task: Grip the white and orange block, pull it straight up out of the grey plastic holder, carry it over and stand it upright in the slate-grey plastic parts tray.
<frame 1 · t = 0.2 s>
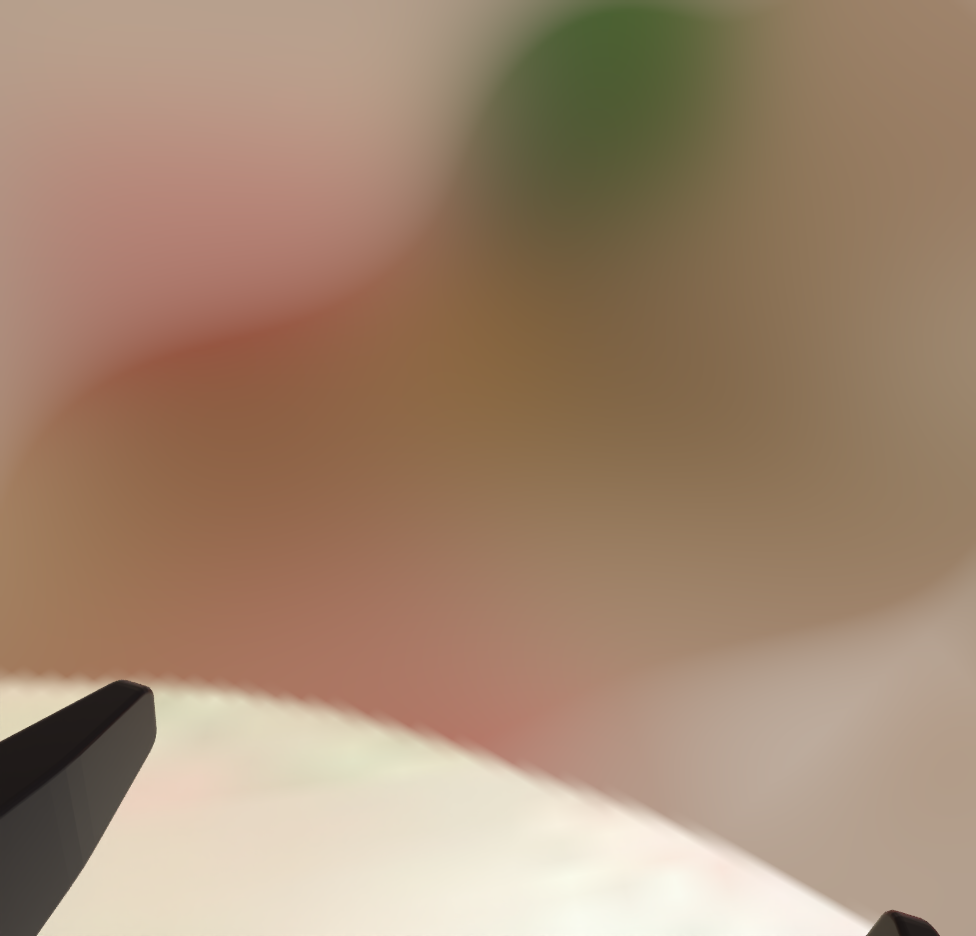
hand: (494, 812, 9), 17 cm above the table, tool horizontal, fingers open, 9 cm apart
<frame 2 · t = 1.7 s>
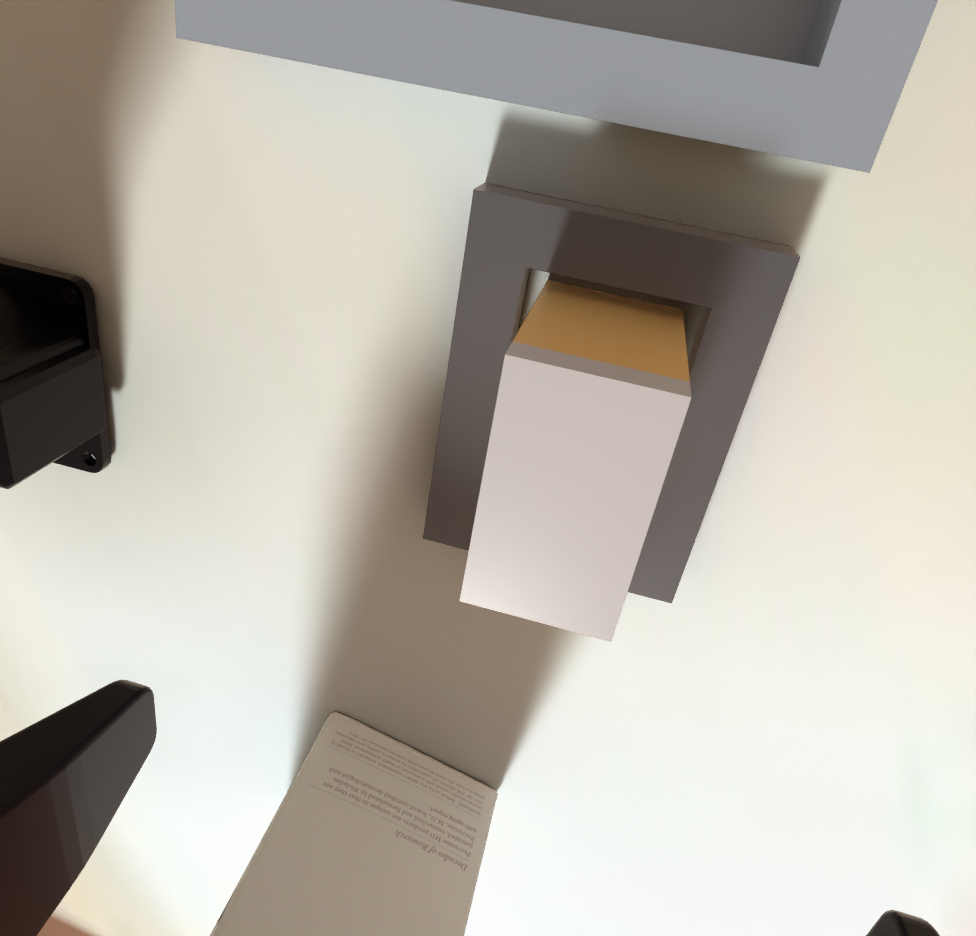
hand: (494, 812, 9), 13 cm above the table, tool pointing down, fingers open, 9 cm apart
white and orange block: (587, 400, 20), resting in holder
holder: (587, 401, 20), on the table
supplement box: (386, 794, 30), on the table
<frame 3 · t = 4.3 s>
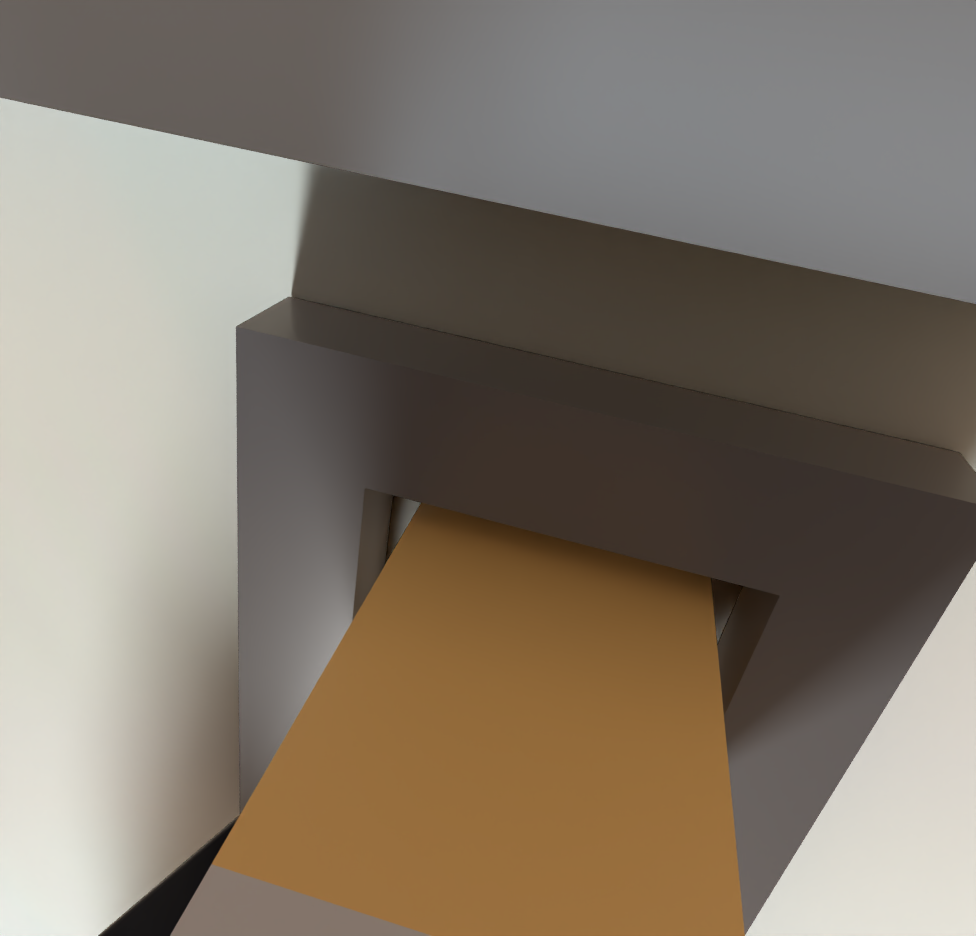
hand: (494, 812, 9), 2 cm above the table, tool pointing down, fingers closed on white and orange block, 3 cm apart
white and orange block: (522, 689, 10), resting in holder, touching gripper
holder: (523, 691, 10), on the table
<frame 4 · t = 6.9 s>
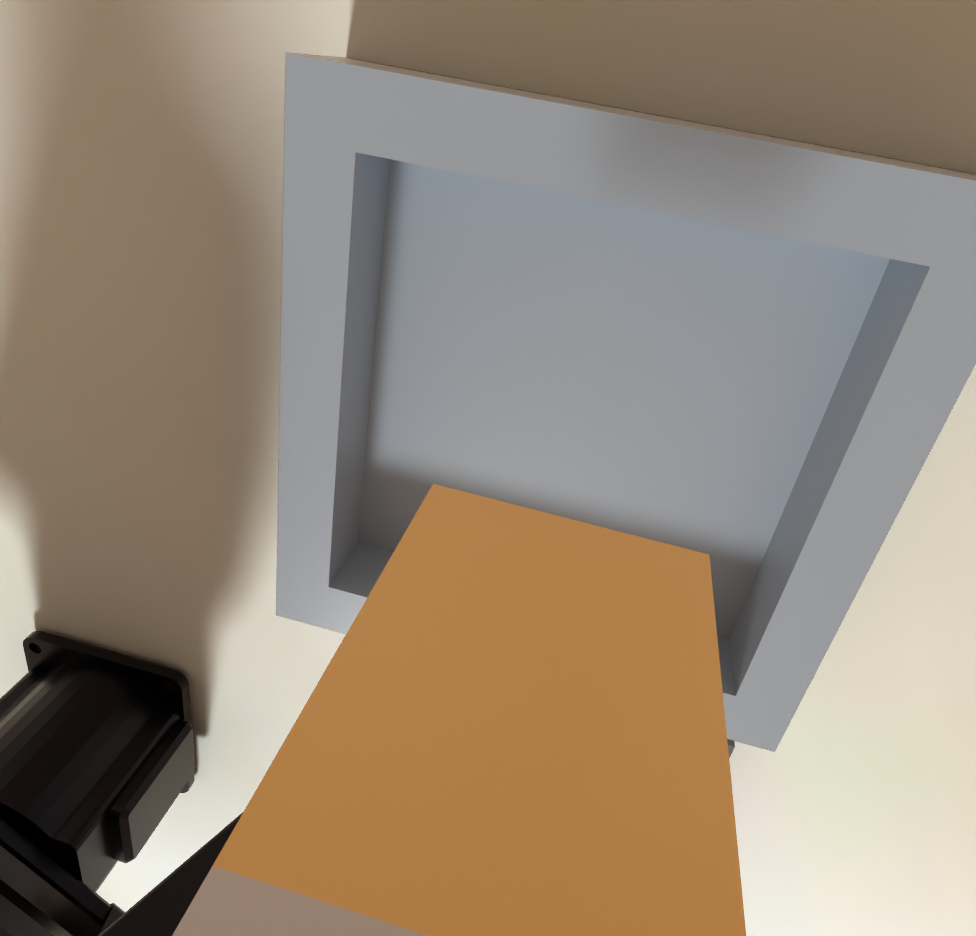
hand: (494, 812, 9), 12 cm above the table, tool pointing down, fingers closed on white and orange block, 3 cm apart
white and orange block: (523, 689, 10), point 10 cm above the table, touching gripper
tray: (582, 407, 19), on the table
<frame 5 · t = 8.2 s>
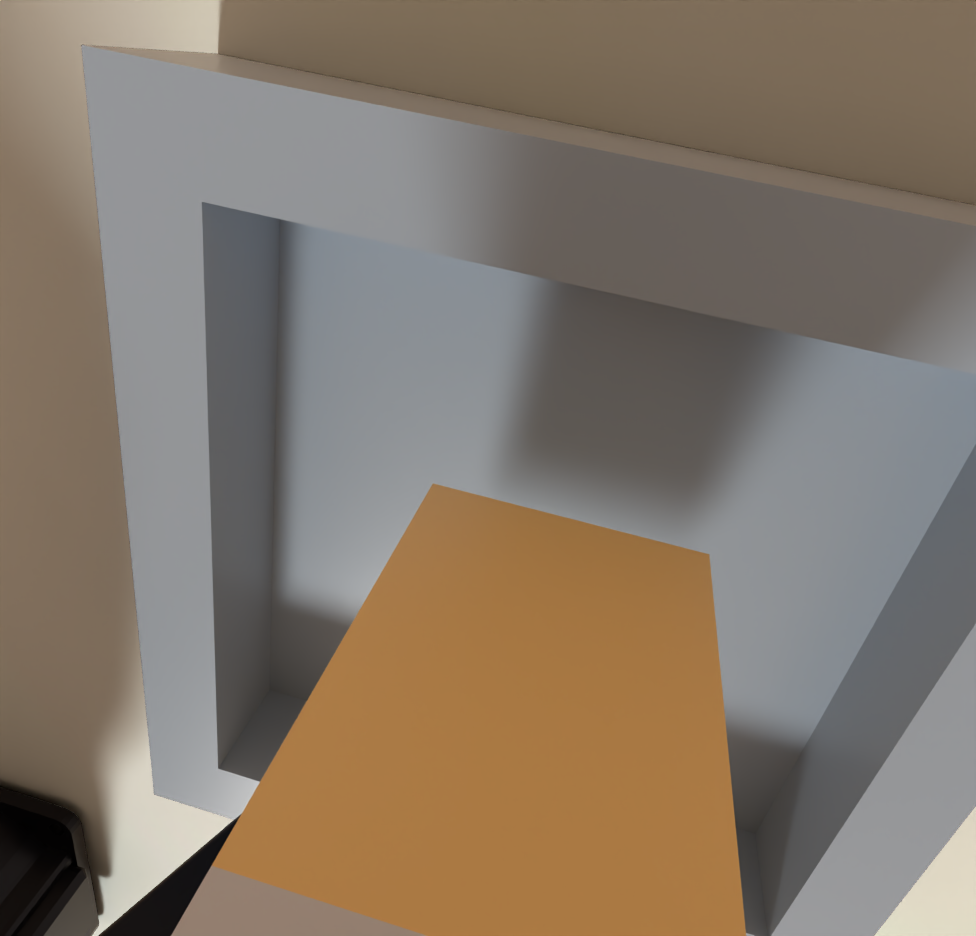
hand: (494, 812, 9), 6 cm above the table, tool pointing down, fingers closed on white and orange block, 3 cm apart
white and orange block: (523, 689, 10), point 4 cm above the table, touching gripper
tray: (561, 536, 14), on the table
when the fingers open (4 cm above the table, at t = 9.4 s): white and orange block drops 1 cm, resting on tray.
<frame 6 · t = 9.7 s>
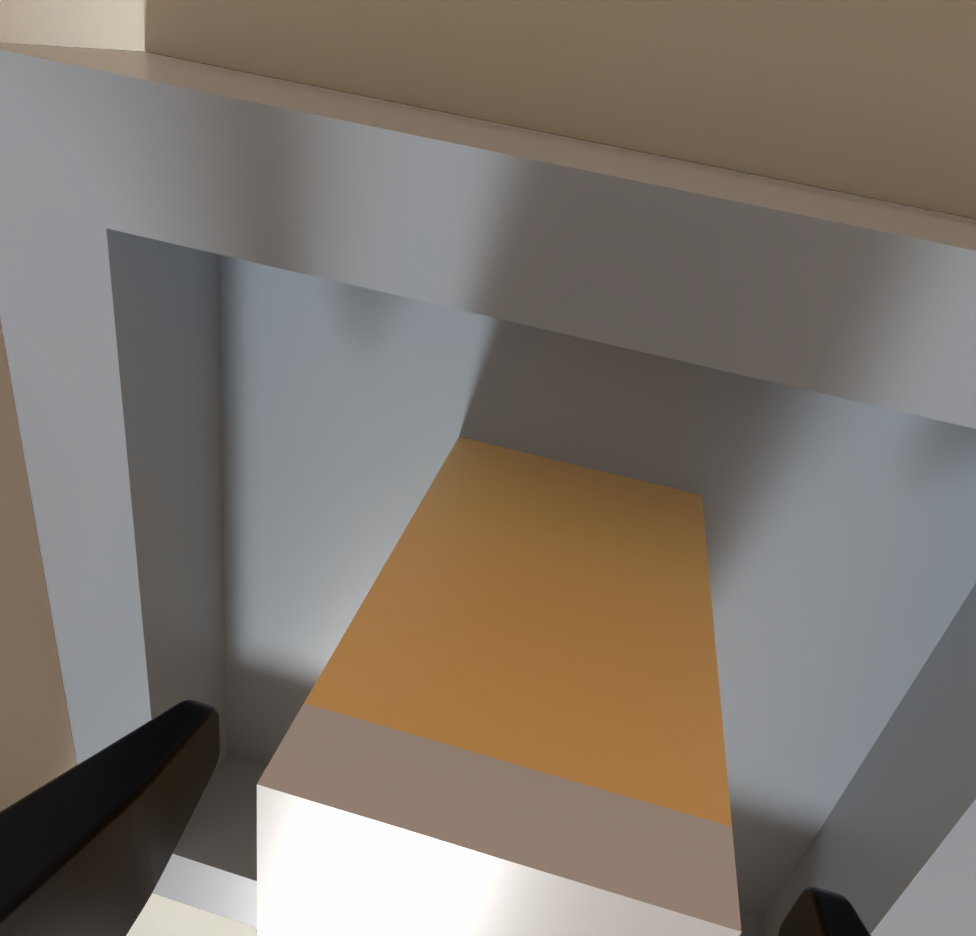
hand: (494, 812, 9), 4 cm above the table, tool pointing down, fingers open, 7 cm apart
white and orange block: (538, 625, 12), point 1 cm above the table, touching tray
tray: (546, 594, 12), on the table
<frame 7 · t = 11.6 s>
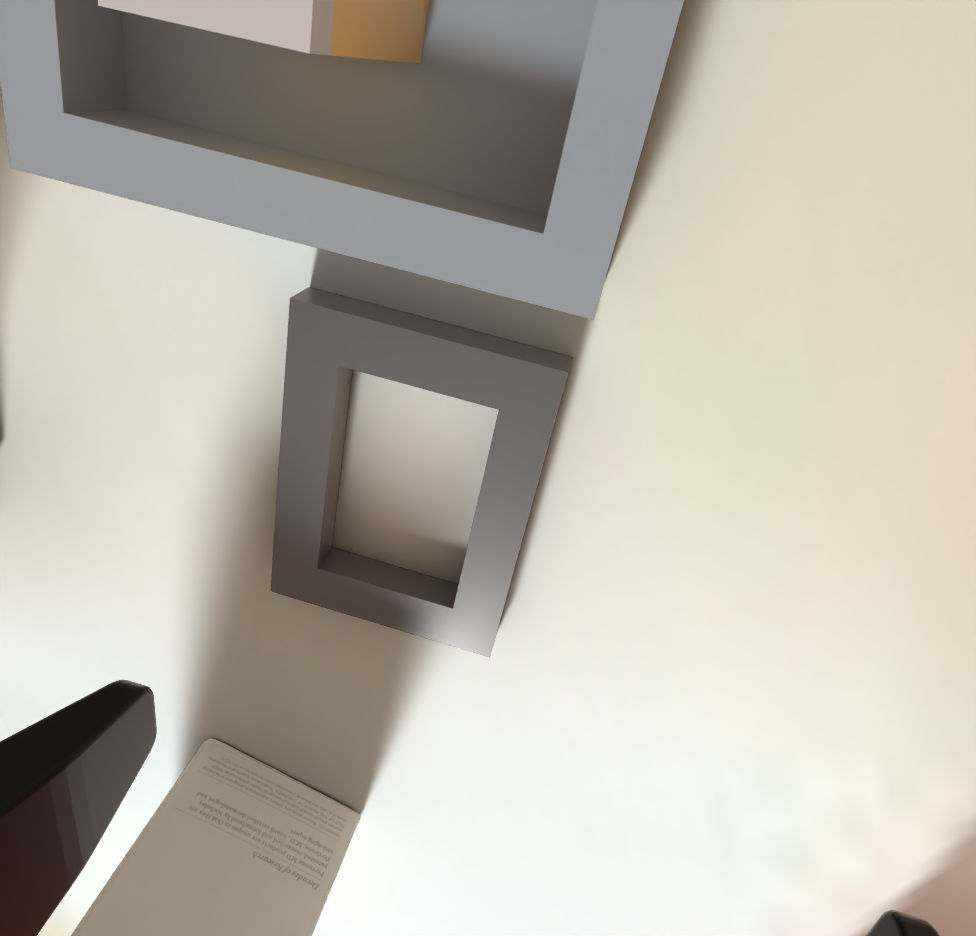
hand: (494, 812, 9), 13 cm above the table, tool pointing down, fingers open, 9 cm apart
holder: (412, 476, 22), on the table
supplement box: (264, 813, 32), on the table
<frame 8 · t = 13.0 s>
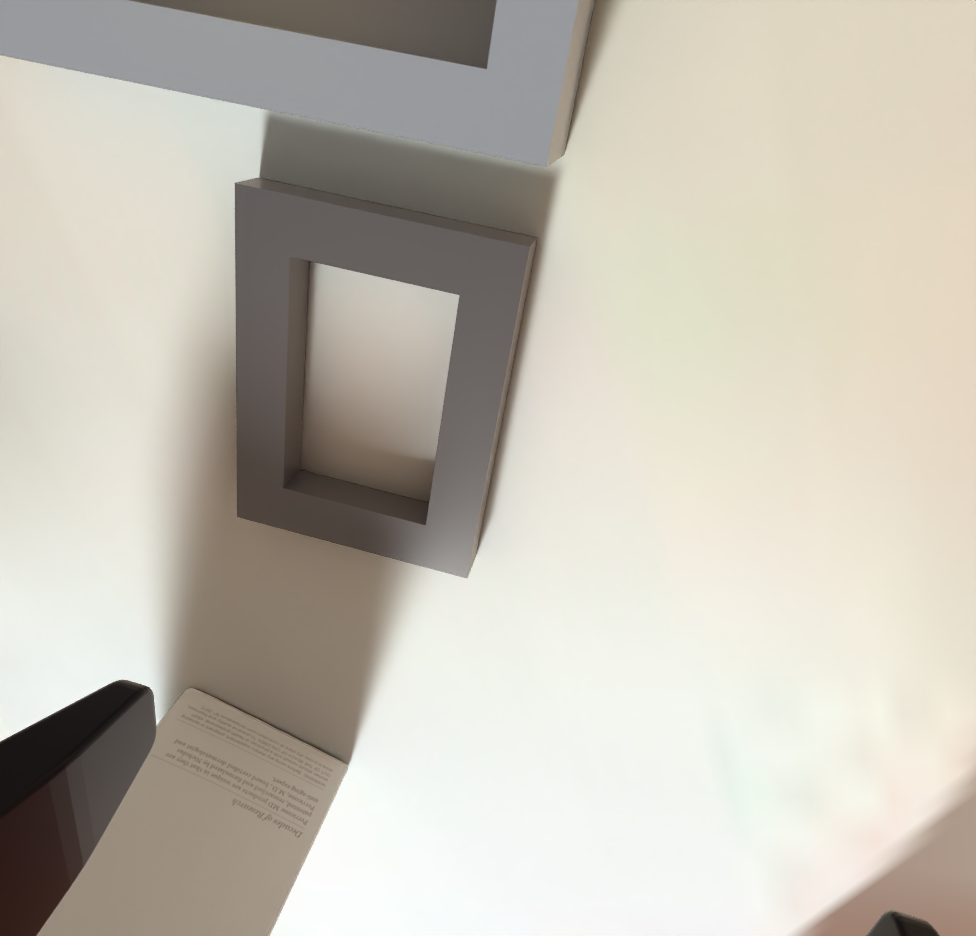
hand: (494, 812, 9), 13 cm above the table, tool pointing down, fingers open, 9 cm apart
holder: (377, 385, 21), on the table
supplement box: (251, 768, 31), on the table
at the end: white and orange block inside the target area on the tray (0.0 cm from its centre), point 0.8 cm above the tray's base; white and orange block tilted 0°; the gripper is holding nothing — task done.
